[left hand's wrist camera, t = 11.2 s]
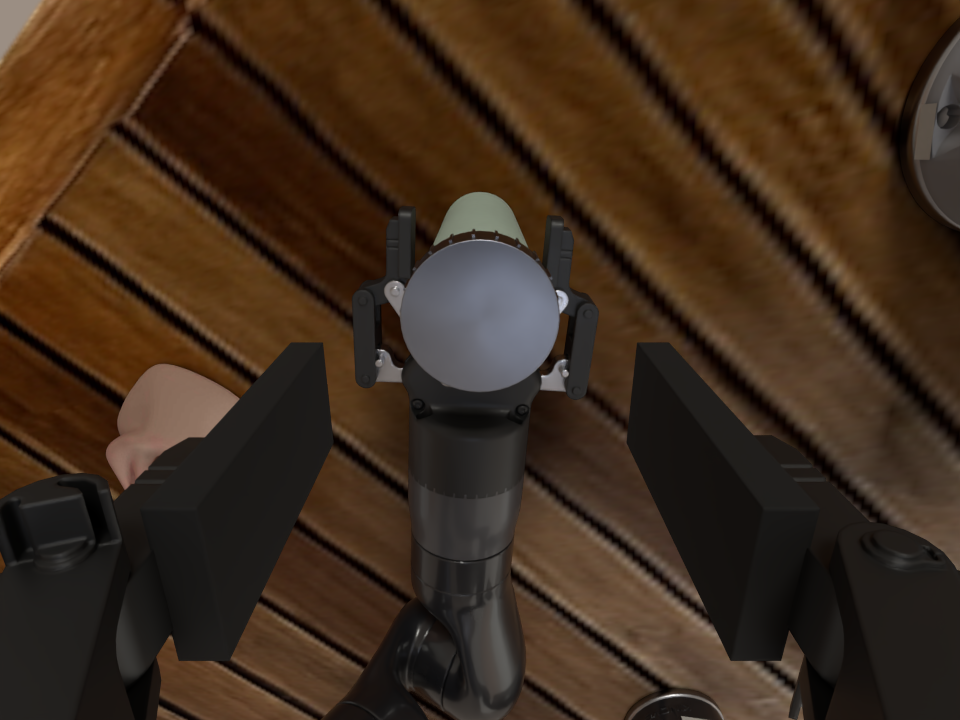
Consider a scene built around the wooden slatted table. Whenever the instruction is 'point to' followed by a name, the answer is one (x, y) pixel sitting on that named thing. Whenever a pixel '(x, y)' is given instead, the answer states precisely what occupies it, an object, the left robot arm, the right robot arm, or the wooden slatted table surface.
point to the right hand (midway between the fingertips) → (481, 212)
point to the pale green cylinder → (480, 217)
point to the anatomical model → (164, 417)
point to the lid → (479, 311)
